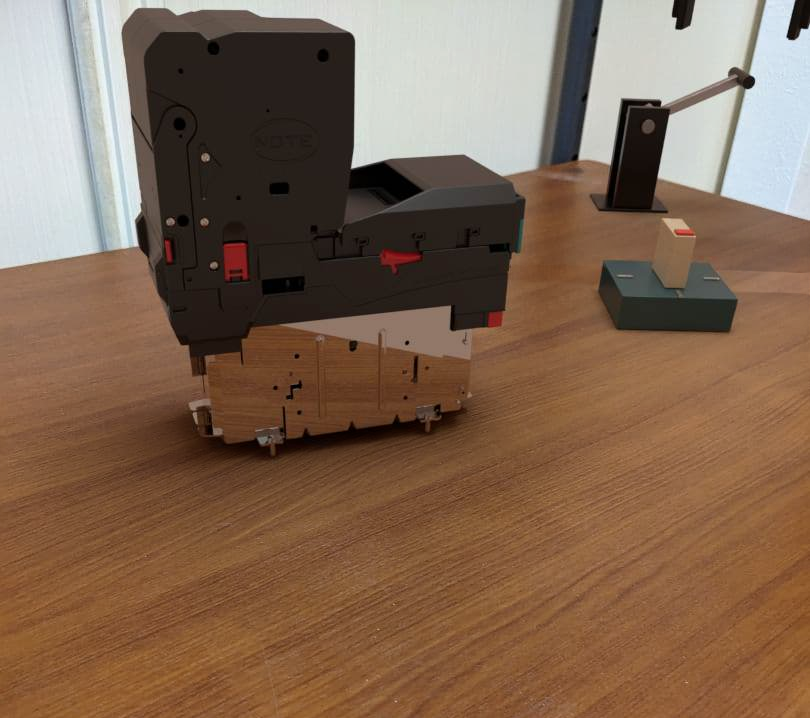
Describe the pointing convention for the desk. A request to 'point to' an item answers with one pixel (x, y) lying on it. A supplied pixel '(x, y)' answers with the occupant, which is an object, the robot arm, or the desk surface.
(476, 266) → the bill acceptor
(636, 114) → the lever bracket
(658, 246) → the tan upright slab
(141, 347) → the desk surface
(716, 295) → the dial panel
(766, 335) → the desk surface
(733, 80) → the lever handle
